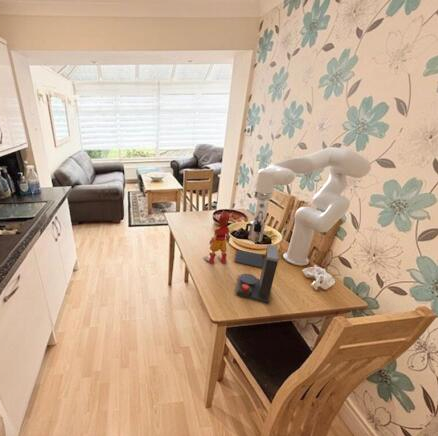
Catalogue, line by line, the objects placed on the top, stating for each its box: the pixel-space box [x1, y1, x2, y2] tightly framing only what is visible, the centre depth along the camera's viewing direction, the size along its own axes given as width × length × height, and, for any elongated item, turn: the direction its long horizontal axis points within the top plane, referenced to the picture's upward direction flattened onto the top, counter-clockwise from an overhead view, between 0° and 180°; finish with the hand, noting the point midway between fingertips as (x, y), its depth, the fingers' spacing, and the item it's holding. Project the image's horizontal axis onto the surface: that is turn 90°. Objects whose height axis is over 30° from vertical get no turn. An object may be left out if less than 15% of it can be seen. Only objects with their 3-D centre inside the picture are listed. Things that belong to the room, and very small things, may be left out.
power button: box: [242, 284, 249, 291], centre depth 109 cm, size 3×3×2 cm
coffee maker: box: [236, 277, 269, 305], centre depth 112 cm, size 15×13×3 cm
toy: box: [204, 209, 231, 264], centre depth 129 cm, size 12×9×30 cm
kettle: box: [244, 219, 266, 243], centre depth 120 cm, size 9×8×11 cm
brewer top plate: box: [234, 249, 264, 269], centre depth 136 cm, size 14×14×1 cm
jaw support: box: [301, 264, 336, 291], centre depth 114 cm, size 12×9×10 cm
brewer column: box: [239, 244, 280, 296], centre depth 108 cm, size 13×13×19 cm
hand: (257, 228), depth 121 cm, fingers closed on kettle, 6 cm apart
